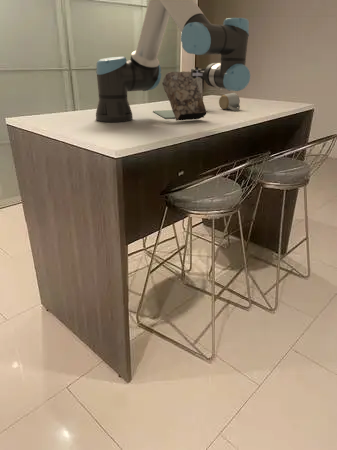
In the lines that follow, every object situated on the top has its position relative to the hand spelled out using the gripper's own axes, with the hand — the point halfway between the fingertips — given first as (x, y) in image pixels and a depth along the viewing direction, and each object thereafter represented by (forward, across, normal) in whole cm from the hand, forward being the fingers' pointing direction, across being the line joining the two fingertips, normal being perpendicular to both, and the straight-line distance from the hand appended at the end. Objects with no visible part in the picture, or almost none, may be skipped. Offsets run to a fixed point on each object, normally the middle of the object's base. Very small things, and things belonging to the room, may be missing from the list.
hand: (192, 71), depth 134 cm
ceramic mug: (+25, +31, -19) cm, 44 cm away
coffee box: (+34, +15, -19) cm, 42 cm away
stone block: (-2, 0, -17) cm, 17 cm away
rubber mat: (+16, 0, -19) cm, 25 cm away
